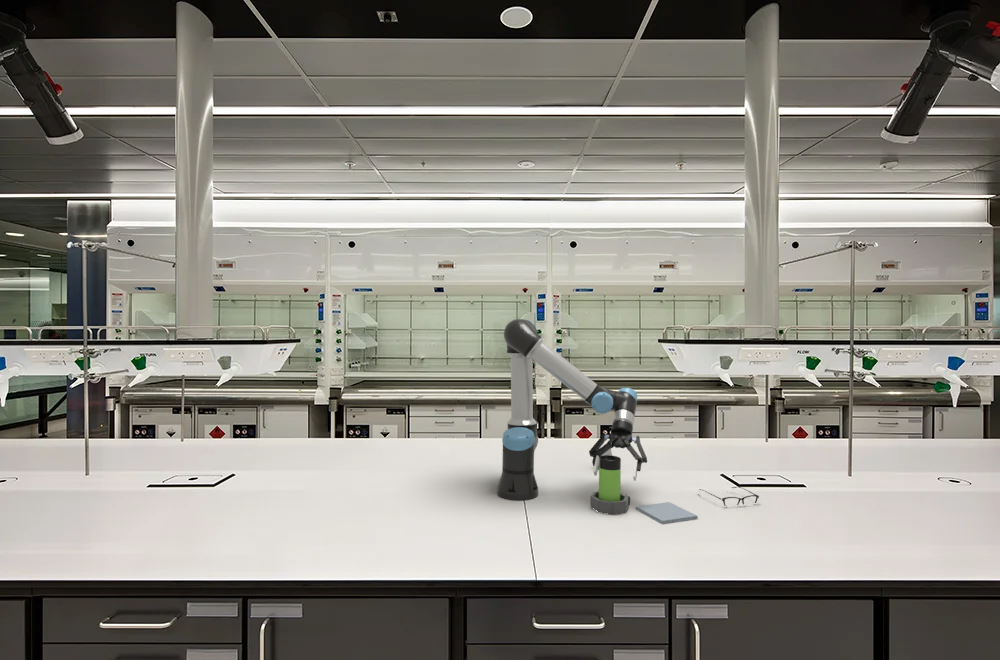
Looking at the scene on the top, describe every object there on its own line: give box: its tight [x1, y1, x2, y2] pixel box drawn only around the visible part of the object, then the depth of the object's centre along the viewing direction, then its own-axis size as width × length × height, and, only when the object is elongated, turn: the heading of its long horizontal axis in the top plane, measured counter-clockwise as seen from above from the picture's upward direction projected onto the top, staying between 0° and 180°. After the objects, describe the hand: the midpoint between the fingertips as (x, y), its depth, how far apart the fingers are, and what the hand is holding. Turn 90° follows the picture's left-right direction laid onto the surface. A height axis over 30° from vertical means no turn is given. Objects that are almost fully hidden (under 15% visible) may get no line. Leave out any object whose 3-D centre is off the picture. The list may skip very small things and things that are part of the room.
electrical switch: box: [598, 448, 613, 471], centre depth 230 cm, size 9×5×9 cm, turn 141°
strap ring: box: [589, 490, 631, 515], centre depth 179 cm, size 14×12×4 cm
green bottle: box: [598, 455, 622, 502], centre depth 179 cm, size 7×7×17 cm
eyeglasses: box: [699, 486, 760, 507], centre depth 190 cm, size 16×16×4 cm
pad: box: [635, 501, 699, 525], centre depth 174 cm, size 14×14×1 cm
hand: (614, 476), depth 180 cm, fingers open, 13 cm apart
